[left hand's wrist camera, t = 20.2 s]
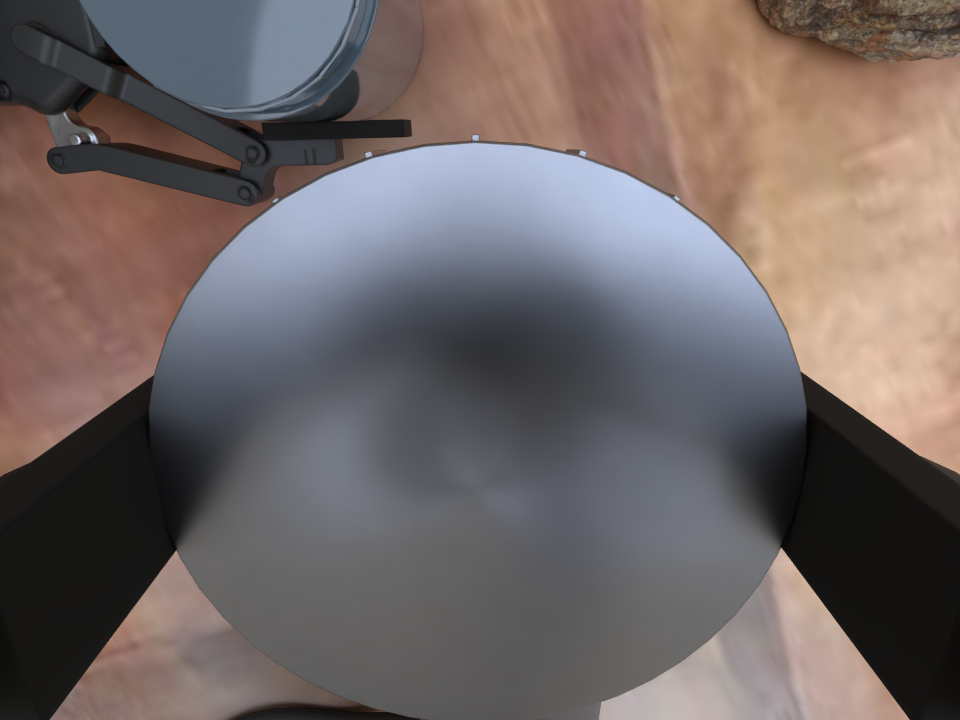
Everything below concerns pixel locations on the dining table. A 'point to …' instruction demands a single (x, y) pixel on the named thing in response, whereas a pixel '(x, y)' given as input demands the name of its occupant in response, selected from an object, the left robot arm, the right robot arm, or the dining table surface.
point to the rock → (873, 26)
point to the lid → (477, 431)
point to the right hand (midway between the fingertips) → (400, 3)
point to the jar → (269, 53)
